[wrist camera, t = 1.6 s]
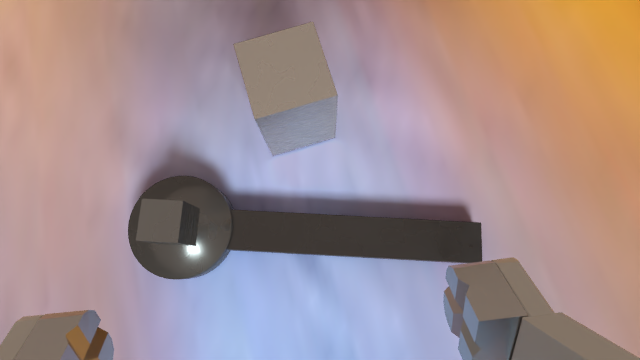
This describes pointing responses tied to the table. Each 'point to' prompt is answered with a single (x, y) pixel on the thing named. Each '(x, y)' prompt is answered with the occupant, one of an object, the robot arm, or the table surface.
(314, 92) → the tan wooden block
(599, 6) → the table surface
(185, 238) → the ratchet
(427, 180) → the table surface
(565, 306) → the table surface
